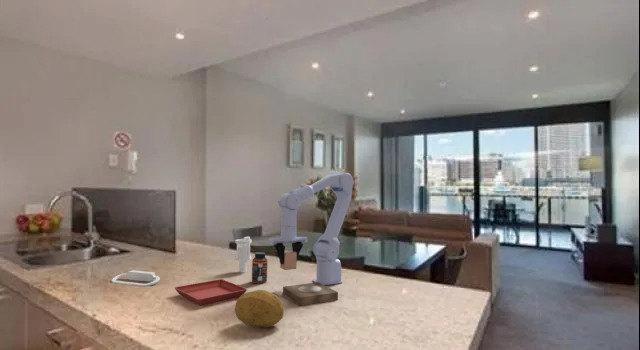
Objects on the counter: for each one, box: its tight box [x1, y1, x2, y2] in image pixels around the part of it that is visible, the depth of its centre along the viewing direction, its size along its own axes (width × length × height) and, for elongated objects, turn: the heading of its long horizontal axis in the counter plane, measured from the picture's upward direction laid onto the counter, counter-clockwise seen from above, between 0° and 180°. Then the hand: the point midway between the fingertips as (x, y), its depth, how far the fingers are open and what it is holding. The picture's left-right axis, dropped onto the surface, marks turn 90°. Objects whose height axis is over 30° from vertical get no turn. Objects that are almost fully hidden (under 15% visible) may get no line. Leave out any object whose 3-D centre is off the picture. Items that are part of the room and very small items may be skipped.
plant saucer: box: [174, 278, 248, 307], centre depth 124 cm, size 18×18×3 cm
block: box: [279, 249, 298, 271], centre depth 135 cm, size 4×4×6 cm
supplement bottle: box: [251, 251, 268, 284], centre depth 144 cm, size 6×6×11 cm
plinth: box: [282, 282, 339, 306], centre depth 125 cm, size 14×14×3 cm
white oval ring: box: [111, 269, 161, 287], centre depth 141 cm, size 20×8×4 cm, turn 73°
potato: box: [234, 289, 285, 329], centre depth 99 cm, size 10×13×9 cm
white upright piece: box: [234, 236, 253, 274], centre depth 160 cm, size 7×7×15 cm
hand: (288, 263), depth 135 cm, fingers closed on block, 4 cm apart
